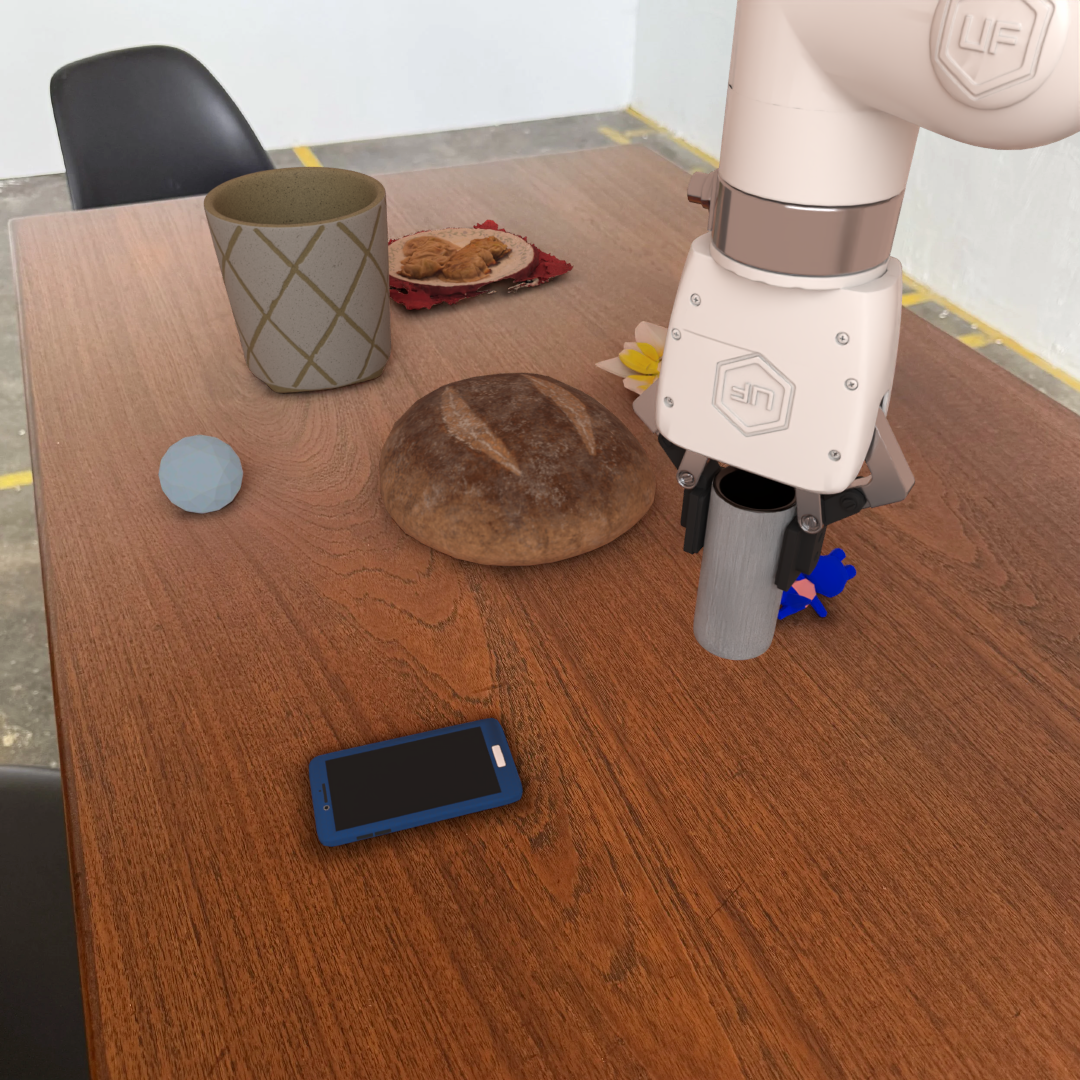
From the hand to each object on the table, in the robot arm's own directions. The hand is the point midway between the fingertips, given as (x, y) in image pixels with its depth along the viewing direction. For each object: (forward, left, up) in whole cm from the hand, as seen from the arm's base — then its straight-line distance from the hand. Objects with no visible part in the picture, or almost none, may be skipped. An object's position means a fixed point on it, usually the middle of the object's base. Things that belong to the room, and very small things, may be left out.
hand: (745, 555), depth 52 cm
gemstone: (+56, -4, -22) cm, 61 cm away
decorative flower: (+30, -47, -22) cm, 60 cm away
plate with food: (+72, -61, -22) cm, 97 cm away
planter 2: (0, 0, -6) cm, 6 cm away
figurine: (+2, -23, -22) cm, 32 cm away
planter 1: (+67, -30, -22) cm, 77 cm away
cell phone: (+17, +10, -22) cm, 30 cm away
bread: (+32, -22, -22) cm, 45 cm away
